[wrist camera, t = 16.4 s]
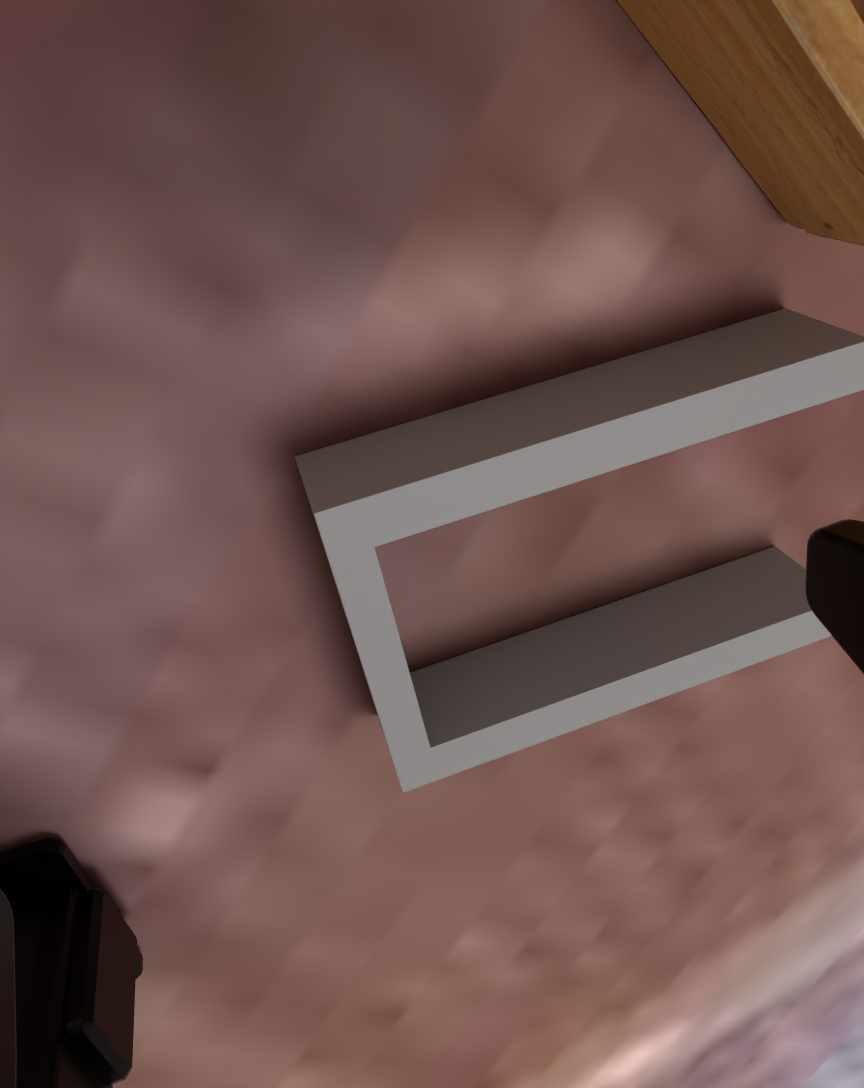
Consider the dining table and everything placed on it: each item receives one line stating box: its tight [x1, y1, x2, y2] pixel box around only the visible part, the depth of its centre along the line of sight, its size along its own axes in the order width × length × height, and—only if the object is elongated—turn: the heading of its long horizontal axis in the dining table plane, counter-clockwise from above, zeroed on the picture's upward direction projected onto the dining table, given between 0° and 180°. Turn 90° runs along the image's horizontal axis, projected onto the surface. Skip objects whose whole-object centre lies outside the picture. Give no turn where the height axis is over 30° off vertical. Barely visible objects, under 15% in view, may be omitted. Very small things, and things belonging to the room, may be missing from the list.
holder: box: [295, 308, 864, 793], centre depth 21 cm, size 13×9×3 cm, turn 101°
